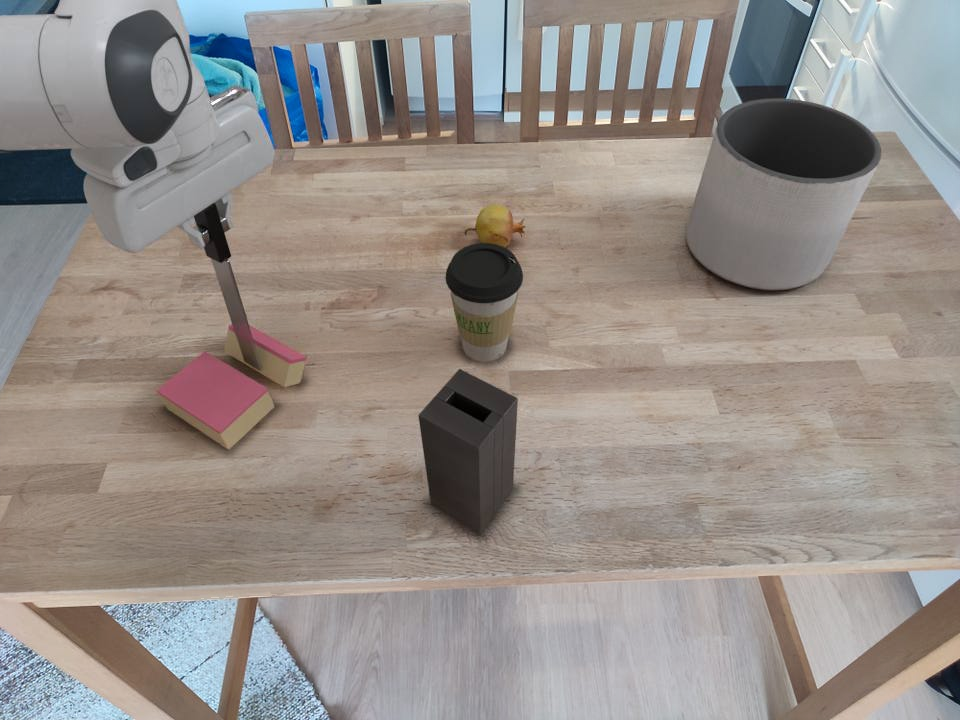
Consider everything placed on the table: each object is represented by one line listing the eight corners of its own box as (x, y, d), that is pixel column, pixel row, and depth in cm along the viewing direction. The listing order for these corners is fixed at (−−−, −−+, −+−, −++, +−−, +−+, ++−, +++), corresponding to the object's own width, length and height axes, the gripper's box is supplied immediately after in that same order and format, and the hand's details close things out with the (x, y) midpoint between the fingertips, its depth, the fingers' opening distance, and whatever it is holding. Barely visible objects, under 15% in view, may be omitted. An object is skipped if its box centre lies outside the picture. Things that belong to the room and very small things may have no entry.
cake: (228, 450, 82) (218, 431, 79) (167, 409, 86) (155, 390, 83) (274, 406, 86) (267, 388, 83) (214, 370, 91) (204, 350, 88)
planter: (690, 291, 100) (726, 178, 85) (677, 204, 114) (706, 93, 99) (841, 301, 98) (906, 187, 83) (809, 211, 112) (859, 99, 97)
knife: (256, 373, 87) (206, 211, 69) (240, 364, 88) (186, 202, 70) (265, 366, 88) (218, 204, 70) (249, 357, 89) (198, 195, 71)
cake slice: (284, 387, 86) (291, 360, 85) (223, 351, 91) (228, 324, 89) (300, 383, 89) (307, 356, 88) (240, 348, 93) (245, 322, 92)
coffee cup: (443, 327, 96) (437, 246, 84) (508, 315, 97) (511, 234, 86) (458, 378, 89) (454, 298, 78) (527, 364, 91) (533, 284, 79)
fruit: (461, 229, 101) (527, 230, 100) (464, 194, 104) (527, 194, 104) (464, 256, 107) (526, 256, 107) (466, 222, 110) (526, 222, 110)
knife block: (480, 536, 74) (478, 448, 61) (430, 505, 77) (418, 415, 63) (513, 490, 78) (518, 398, 64) (464, 462, 81) (459, 368, 67)
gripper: (227, 70, 70) (261, 182, 80) (53, 160, 59) (118, 277, 69) (270, 85, 67) (299, 199, 78) (96, 182, 56) (158, 299, 67)
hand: (213, 236), depth 73 cm, fingers closed on knife, 2 cm apart
